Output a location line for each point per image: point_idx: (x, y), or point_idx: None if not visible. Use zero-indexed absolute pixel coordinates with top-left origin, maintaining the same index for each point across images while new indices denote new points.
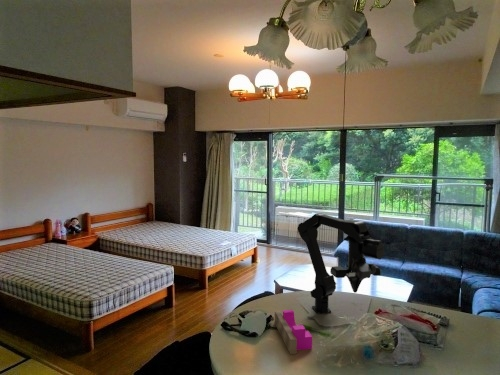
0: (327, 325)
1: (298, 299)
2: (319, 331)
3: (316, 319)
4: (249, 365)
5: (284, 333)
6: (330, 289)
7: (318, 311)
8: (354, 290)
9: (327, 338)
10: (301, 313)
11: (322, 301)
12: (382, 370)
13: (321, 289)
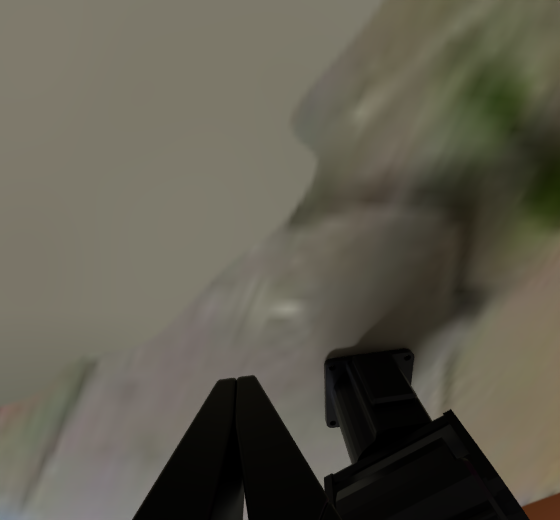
0: (419, 212)
1: None
2: (508, 137)
3: (446, 286)
4: None
5: None
6: (411, 502)
7: (401, 362)
8: (262, 398)
9: (511, 28)
10: (489, 351)
11: (412, 409)
12: None
13: (510, 492)
